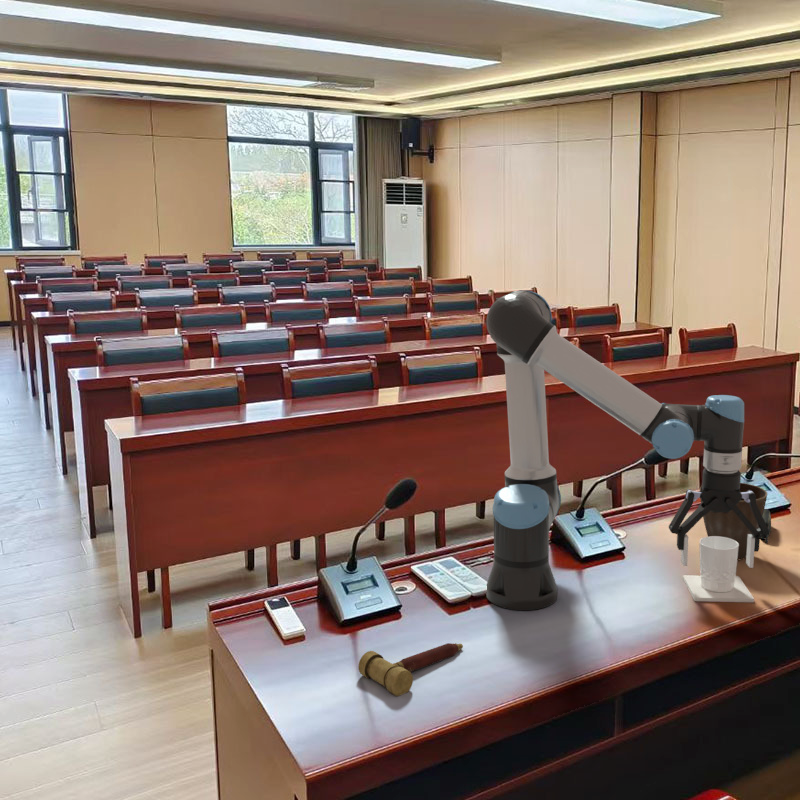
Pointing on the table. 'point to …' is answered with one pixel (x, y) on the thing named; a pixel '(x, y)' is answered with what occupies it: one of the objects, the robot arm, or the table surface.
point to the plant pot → (736, 519)
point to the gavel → (402, 667)
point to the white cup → (718, 563)
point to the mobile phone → (767, 523)
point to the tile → (701, 594)
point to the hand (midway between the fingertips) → (716, 564)
